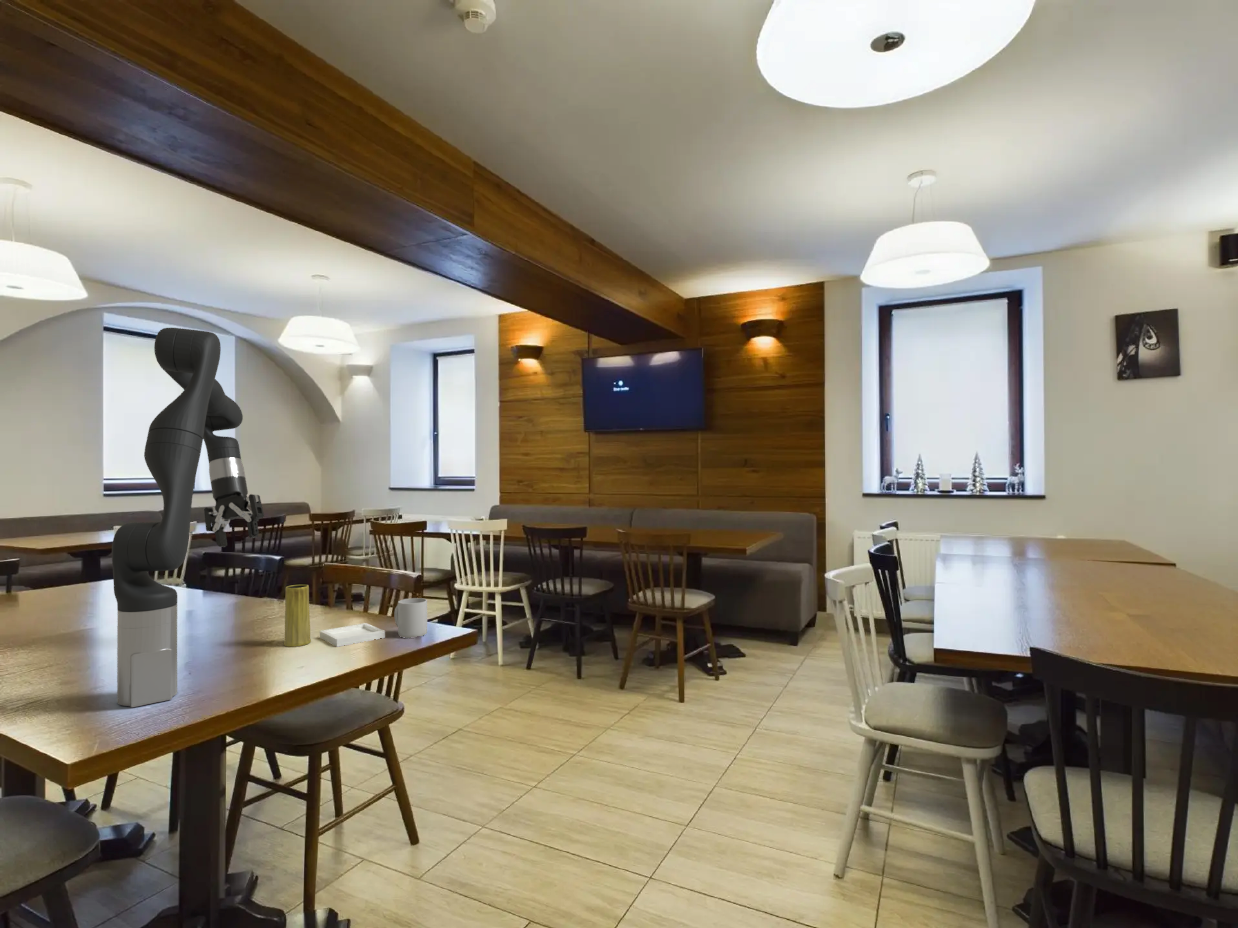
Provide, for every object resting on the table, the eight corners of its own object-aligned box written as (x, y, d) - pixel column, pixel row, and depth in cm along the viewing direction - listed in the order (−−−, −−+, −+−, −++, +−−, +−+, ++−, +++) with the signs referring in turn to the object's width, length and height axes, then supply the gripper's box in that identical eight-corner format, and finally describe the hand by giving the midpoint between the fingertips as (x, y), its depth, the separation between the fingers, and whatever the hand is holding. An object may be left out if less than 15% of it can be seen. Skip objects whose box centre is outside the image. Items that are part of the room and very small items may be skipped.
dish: (385, 637, 166) (385, 630, 166) (337, 646, 157) (337, 639, 157) (366, 629, 174) (366, 622, 174) (319, 637, 166) (319, 630, 166)
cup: (412, 640, 164) (412, 604, 164) (384, 635, 168) (384, 600, 168) (433, 633, 170) (433, 599, 170) (406, 629, 175) (406, 596, 175)
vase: (286, 648, 156) (286, 589, 156) (280, 643, 161) (280, 586, 161) (313, 644, 160) (313, 586, 160) (307, 639, 165) (307, 583, 165)
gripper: (263, 472, 164) (274, 534, 162) (214, 487, 166) (224, 549, 164) (242, 469, 157) (253, 534, 154) (191, 485, 159) (200, 549, 156)
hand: (238, 542), depth 159 cm, fingers open, 8 cm apart
